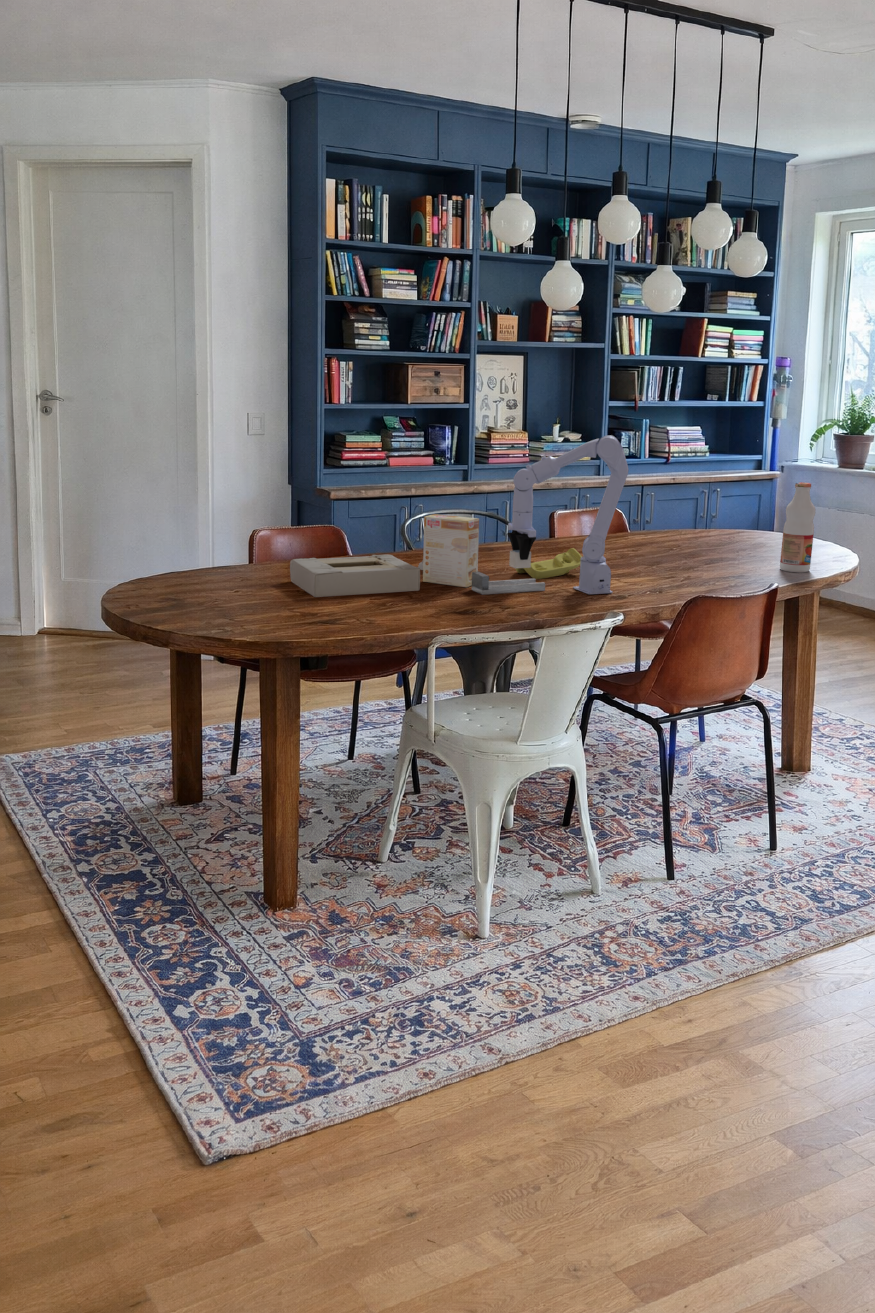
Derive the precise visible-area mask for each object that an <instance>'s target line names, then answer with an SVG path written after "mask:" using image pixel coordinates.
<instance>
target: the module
mask: <svg viewBox="0 0 875 1313" xmlns="http://www.w3.org/2000/svg"><path fill="white" fill-rule="evenodd" d="M508 562H509V563H508V564H509V567H511V568H513V569H516V568H531V563H532V551H530V553H529V557H528V560H520V554H519V550H509V560H508Z"/></svg>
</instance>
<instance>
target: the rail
mask: <svg viewBox="0 0 875 1313" xmlns="http://www.w3.org/2000/svg"><path fill="white" fill-rule="evenodd" d="M536 580H537V579H535V578H519V579H505V580H503V579H502V580H490V576H489V575H487V574H485V573H484V572H480V571H478V572H472V586H471V590H472V591H473V592H475V593H477V594H480V595H499V594H511V593H512V594H513V593H527V592H529V593H531V592H543V591H546V582H544V581H542V582H537V581H536Z"/></svg>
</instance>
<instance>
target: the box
mask: <svg viewBox="0 0 875 1313" xmlns="http://www.w3.org/2000/svg"><path fill="white" fill-rule="evenodd" d="M289 572H290V581H291V583H293V584H294V585H296V586H297V587H298V588H300V589H302V590H303V591H305V592H306V593H307V594H309V595H311V596H313V597H314V598H320V597H321V598H322V597H323V598H325V597H337V596H339V597H340V596H353V595H356V596H357V595H369V594H370V595H371V594H372V595H373V594H385V593H386V594H387V593H401V592H415V591H416V592H418V591H420V588H421V570H420V569H419V568H418V566H415V565H412V564H410V563H408V562H406V561H403V560H402V559H400V558H399V557H398V558H397V557H396V556H394V555H393V554H371V555H370V556H369V555H367V556H349V557H345V556H344V557H329V558H328V557H327V558H326V557H325V558H316V557H310V558H294V559H291V560H290V562H289Z"/></svg>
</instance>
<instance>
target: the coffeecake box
mask: <svg viewBox="0 0 875 1313" xmlns="http://www.w3.org/2000/svg"><path fill="white" fill-rule="evenodd" d="M479 537H480V518H479V517H478V518H477V517H468V516H457V515H448V514H437V513H435V514H429V515H425V516H423V552H422V553H423V558H422V561H423V570H422V582H423V583H432V584H438V585H447V586H453V587H462V588H469V587H472V572H479V570H478V569H479V566H478V565H479V540H480V538H479Z"/></svg>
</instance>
